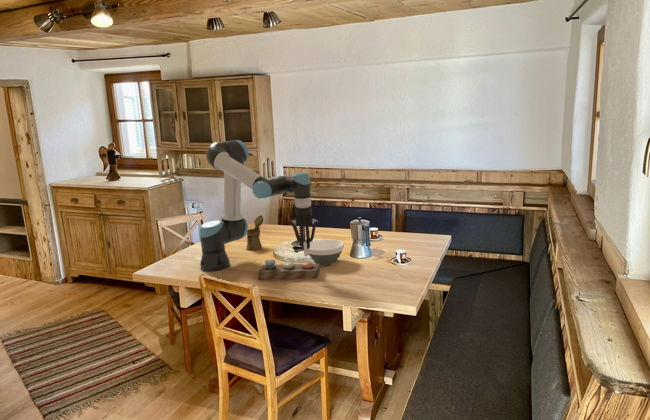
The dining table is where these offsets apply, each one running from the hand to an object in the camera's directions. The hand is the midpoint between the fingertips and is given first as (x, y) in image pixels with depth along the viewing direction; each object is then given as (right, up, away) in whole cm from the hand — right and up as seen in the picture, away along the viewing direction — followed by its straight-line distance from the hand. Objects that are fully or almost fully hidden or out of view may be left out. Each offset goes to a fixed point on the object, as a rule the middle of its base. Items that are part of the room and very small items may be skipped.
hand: (306, 255), depth 221 cm
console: (-8, -10, +3) cm, 13 cm away
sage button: (-8, -9, +3) cm, 12 cm away
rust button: (+1, -8, +2) cm, 9 cm away
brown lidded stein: (-31, -1, +56) cm, 64 cm away
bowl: (+9, -6, +20) cm, 22 cm away
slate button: (-17, -8, +4) cm, 19 cm away
